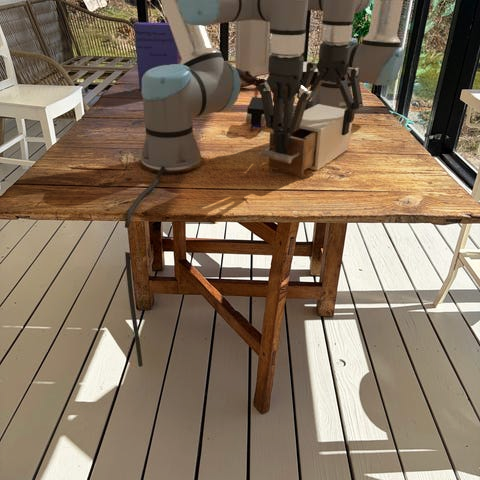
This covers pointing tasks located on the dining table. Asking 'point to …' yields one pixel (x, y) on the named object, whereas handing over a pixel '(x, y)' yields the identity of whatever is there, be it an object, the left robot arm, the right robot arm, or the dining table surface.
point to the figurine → (249, 79)
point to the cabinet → (326, 132)
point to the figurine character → (255, 114)
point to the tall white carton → (252, 46)
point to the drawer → (294, 152)
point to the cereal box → (154, 47)
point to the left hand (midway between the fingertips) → (280, 158)
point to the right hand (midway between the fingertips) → (325, 129)
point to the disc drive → (313, 74)
